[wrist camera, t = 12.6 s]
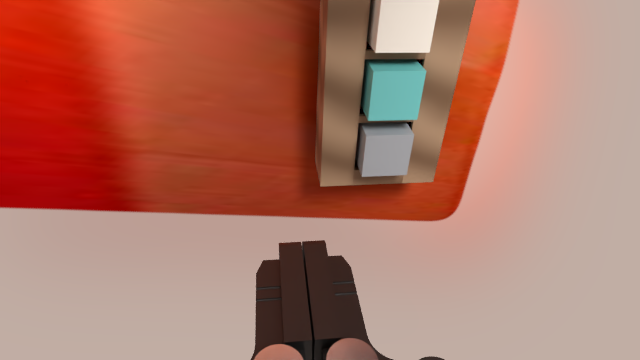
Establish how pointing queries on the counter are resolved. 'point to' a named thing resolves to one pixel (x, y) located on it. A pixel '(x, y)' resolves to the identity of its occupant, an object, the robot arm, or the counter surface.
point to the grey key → (383, 148)
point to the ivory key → (401, 25)
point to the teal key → (392, 89)
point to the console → (346, 87)
